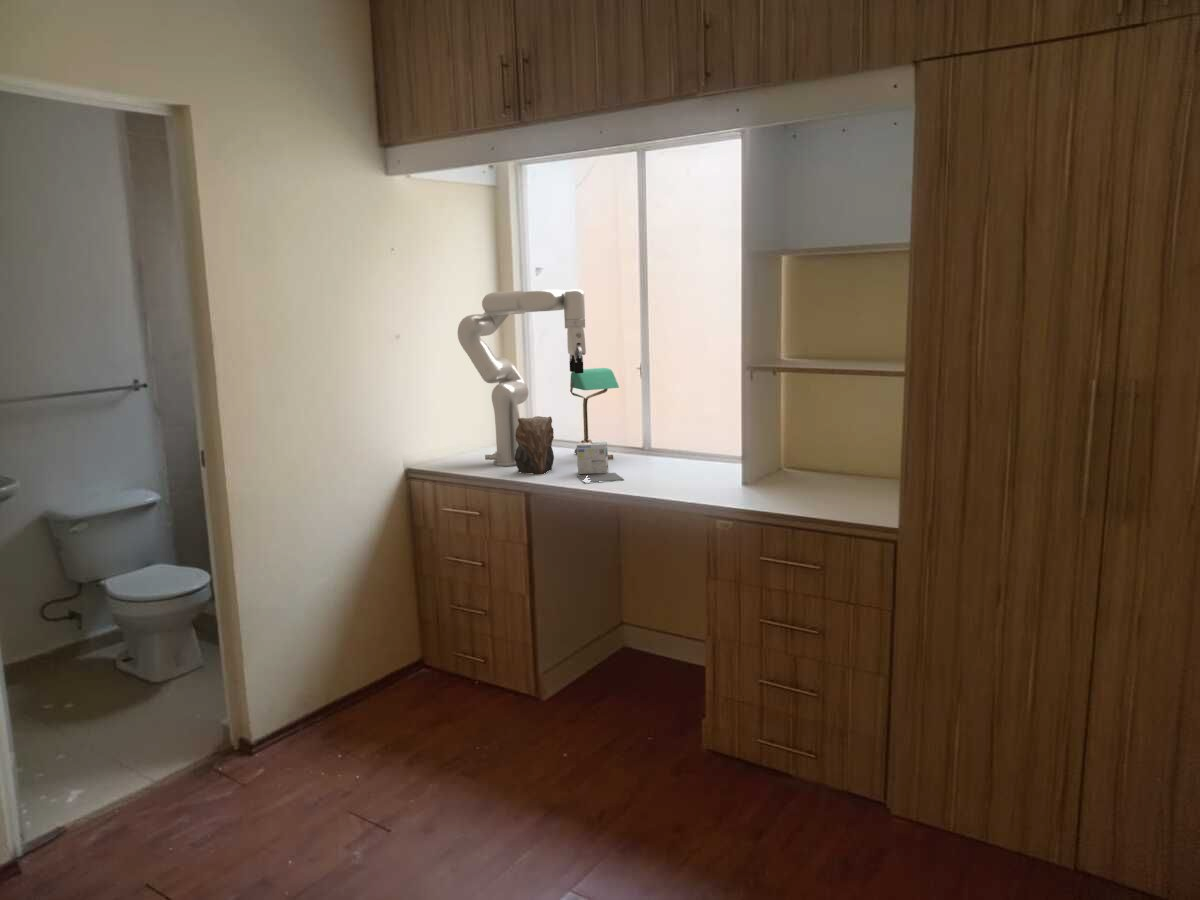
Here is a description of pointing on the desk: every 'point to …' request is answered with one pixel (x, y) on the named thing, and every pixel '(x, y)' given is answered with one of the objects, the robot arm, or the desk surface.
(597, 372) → the banker's lamp
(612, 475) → the mat
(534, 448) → the owl
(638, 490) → the desk surface
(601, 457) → the light bulb box
